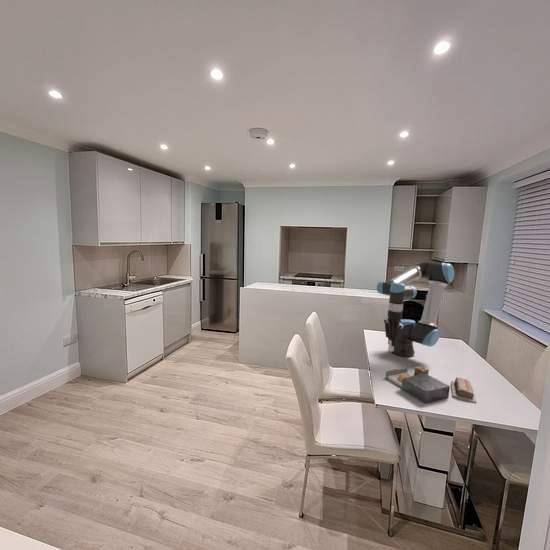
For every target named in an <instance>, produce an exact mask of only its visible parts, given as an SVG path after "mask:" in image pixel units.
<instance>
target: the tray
mask: <svg viewBox="0 0 550 550" xmlns="http://www.w3.org/2000/svg"><path fill="white" fill-rule="evenodd" d="M400 374H406V375H410V376H413V375H412V374H410V373H408V367H402V368H401V367H400V368H396V369H390V370H389V369H388V370H386V371H385V380H389V381H390V382H392V383H394V384H396V385H397V386H399V387H400V388H402V382H401V381H399V379H398V378H399V375H400Z"/></svg>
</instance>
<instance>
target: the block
mask: <svg viewBox="0 0 550 550" xmlns="http://www.w3.org/2000/svg"><path fill="white" fill-rule="evenodd" d="M421 374H427V375H429V369H428V368H426V367H424V366H423V365H422V366H420V365H419V366H415V367H414V372H413V376H416V375H421Z"/></svg>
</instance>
